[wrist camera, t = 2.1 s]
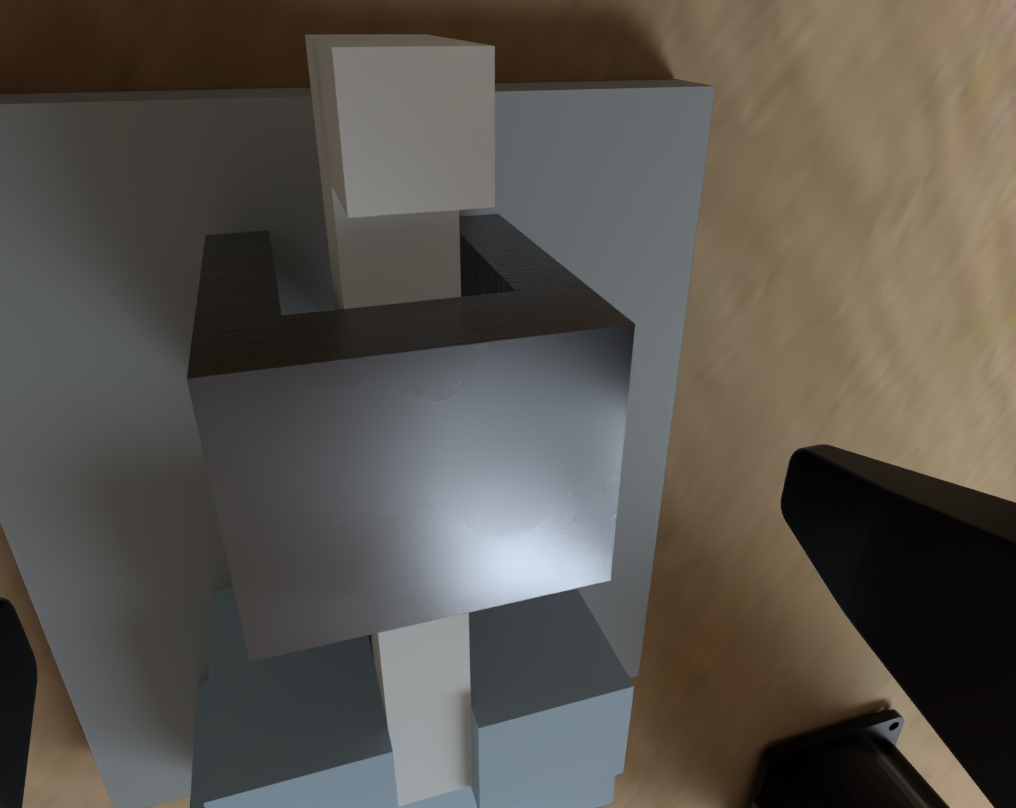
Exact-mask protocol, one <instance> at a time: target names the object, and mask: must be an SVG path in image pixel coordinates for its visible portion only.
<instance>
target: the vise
mask: <svg viewBox="0 0 1016 808" xmlns="http://www.w3.org/2000/svg"><path fill="white" fill-rule="evenodd" d="M305 40H306V49H307V58H308V67H309V76H310V85H311V87H304V88H259V89H214V90H169V91H123V92H78V93H33V94H0V523H1V526H2V528H3V531H4V533H5V536H6V538H7V541H8V543H9V546H10V548H11V551H12V553H13V556H14V558H15V561H16V563H17V566H18V568H19V571H20V573H21V576H22V578H23V581H24V583H25V586H26V588H27V591H28V593H29V596H30V598H31V601H32V603H33V606H34V609H35V611H36V614H37V616H38V619H39V621H40V624H41V626H42V629H43V631H44V634H45V636H46V639H47V641H48V644H49V646H50V649H51V651H52V654H53V656H54V659H55V661H56V664H57V666H58V669H59V671H60V674H61V676H62V679H63V681H64V684H65V686H66V689H67V691H68V694H69V696H70V699H71V701H72V704H73V706H74V709H75V711H76V714H77V716H78V719H79V722H80V724H81V727H82V729H83V732H84V734H85V737H86V739H87V742H88V744H89V747H90V749H91V752H92V754H93V757H94V759H95V762H96V764H97V767H98V769H99V772H100V774H101V777H102V779H103V782H104V784H105V787H106V789H107V792H108V794H109V797H110V799H111V802H112V804H113V807H114V808H146V807H150V806H153V805H157V804H161V803H165V802H168V801H172V800H176V799H180V798H183V797H187V796H191V798H190V808H597V807H601V806H604V805H607V804H610V803H613V794H614V786H615V778H616V775H618V774H621V773H623V771H624V763H625V755H626V748H627V740H628V732H629V724H630V716H631V708H632V701H633V693H634V685H633V683H632V681H631V680H630V678H632V677H636V676H639V669H640V661H641V654H642V646H643V638H644V631H645V623H646V615H647V608H648V600H649V592H650V585H651V577H652V569H653V562H654V554H655V546H656V539H657V531H658V523H659V516H660V508H661V500H662V493H663V485H664V477H665V470H666V462H667V454H668V447H669V439H670V431H671V424H672V416H673V408H674V401H675V393H676V385H677V377H678V370H679V362H680V354H681V347H682V339H683V331H684V324H685V316H686V308H687V301H688V293H689V285H690V278H691V270H692V262H693V255H694V247H695V239H696V232H697V224H698V216H699V209H700V201H701V193H702V186H703V178H704V170H705V163H706V155H707V147H708V140H709V132H710V124H711V117H712V109H713V101H714V94H715V86H712V85H706V84H700V83H695V82H689V81H683V80H678V79H666V80H621V81H576V82H530V83H495V46H492V45H486V44H480V43H474V42H468V41H463V40H457V39H451V38H445V37H439V36H433V35H427V34H355V35H305ZM487 214H499V215H501V216H502V217H503V218H504V219H506V220H507V221H508V222H509V223H510V224H512V225H513V226H514V227H515V228H517V229H518V230H519V231H520V232H522V233H523V234H524V235H525V236H527V237H528V238H529V239H530V240H532V241H533V242H534V243H535V244H537V245H538V246H539V247H540V248H542V249H543V250H544V251H545V252H546V253H548V254H549V255H550V256H551V257H553V258H554V259H555V260H556V261H558V262H559V263H560V264H561V265H563V266H564V267H565V268H566V269H568V270H569V271H570V272H571V273H573V274H574V275H575V276H576V277H578V278H579V279H580V280H581V281H582V282H584V283H585V284H586V285H587V286H589V287H590V288H591V289H592V290H594V291H595V292H596V293H597V294H599V295H600V296H601V297H602V298H604V299H605V300H606V301H607V302H609V303H610V304H611V305H612V306H614V307H615V308H616V309H617V310H619V311H620V312H621V313H622V314H623V315H625V316H626V317H627V318H628V319H630V320H631V321H632V322H633V323H635V331H634V342H633V352H632V362H631V373H630V383H629V394H628V404H627V414H626V425H625V435H624V446H623V456H622V466H621V477H620V487H619V498H618V508H617V518H616V529H615V539H614V550H613V560H612V570H611V581H606V582H602V583H597V584H593V585H589V586H584V587H580V588H575V589H571V590H566V591H562V592H558V593H553V594H549V595H544V596H540V597H535V598H531V599H526V600H522V601H518V602H513V603H509V604H504V605H500V606H495V607H491V608H487V609H482V610H478V611H473V612H469V613H464V614H460V615H456V616H451V617H447V618H442V619H438V620H433V621H429V622H425V623H420V624H416V625H411V626H407V627H402V628H398V629H394V630H389V631H385V632H380V633H376V634H371V635H367V636H363V637H358V638H354V639H349V640H345V641H340V642H336V643H331V644H327V645H323V646H318V647H314V648H309V649H305V650H300V651H296V652H292V653H287V654H283V655H278V656H274V657H269V658H265V659H261V660H256V661H252V662H250V661H249V656H248V652H247V647H246V643H245V638H244V634H243V629H242V625H241V620H240V616H239V611H238V607H237V603H236V598H235V594H234V589H233V585H232V580H231V576H230V571H229V567H228V562H227V558H226V553H225V549H224V544H223V540H222V535H221V531H220V526H219V522H218V517H217V513H216V508H215V504H214V499H213V495H212V490H211V486H210V481H209V477H208V472H207V468H206V463H205V459H204V454H203V450H202V446H201V441H200V437H199V432H198V428H197V423H196V419H195V414H194V410H193V405H192V401H191V396H190V392H189V387H188V383H187V372H188V365H189V357H190V349H191V342H192V334H193V326H194V318H195V311H196V303H197V295H198V288H199V280H200V272H201V265H202V257H203V249H204V242H205V235H212V234H226V233H240V232H253V231H267V230H269V233H270V239H271V246H272V253H273V260H274V266H275V273H276V280H277V287H278V293H279V300H280V307H281V314H282V315H290V314H300V313H310V312H319V311H329V310H339V309H348V308H358V307H368V306H377V305H387V304H396V303H406V302H416V301H425V300H435V299H445V298H454V297H461V271H460V230H459V216H473V215H487Z"/></svg>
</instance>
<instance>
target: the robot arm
mask: <svg viewBox="0 0 1016 808" xmlns="http://www.w3.org/2000/svg"><path fill="white" fill-rule="evenodd" d="M781 510H782V514H783V517H784V519H785V521H786V522H787V524H788V526H789V527H790V529H791V530H792V532H793V533H794V535H795V537H796V538H797V540H798V541H799V543H800V545H801V546H802V548H803V549H804V551H805V552H806V554H807V556H808V557H809V559H810V560H811V562H812V564H813V565H814V567H815V568H816V570H817V571H818V573H819V575H820V576H821V578H822V579H823V581H824V583H825V584H826V586H827V587H828V589H829V590H830V592H831V594H832V595H833V597H834V598H835V600H836V601H837V603H838V604H839V606H840V607H841V609H842V610H843V612H844V613H845V615H846V616H847V617H848V619H849V620H850V622H851V623H852V624H853V626H854V627H855V628H856V630H857V631H858V632H859V634H860V635H861V636H862V637H863V639H864V640H865V641H866V643H867V644H868V645H869V646H870V648H871V649H872V650H873V652H874V653H875V654H876V655H877V657H878V658H879V659H880V661H881V662H882V663H883V665H884V666H885V667H886V668H887V670H888V671H889V672H890V674H891V675H892V676H893V677H894V679H895V680H896V681H897V683H898V684H899V685H900V686H901V688H902V689H903V690H904V692H905V693H906V694H907V696H908V697H909V698H910V699H911V701H912V702H913V703H914V705H915V706H916V707H917V708H918V710H919V711H920V712H921V714H922V715H923V716H924V717H925V719H926V720H927V721H928V723H929V724H930V725H931V727H932V728H933V729H934V730H935V732H936V733H937V734H938V736H939V737H940V738H941V739H942V741H943V742H944V743H945V745H946V746H947V747H948V748H949V750H950V751H951V752H952V754H953V755H954V756H955V758H956V759H957V760H958V761H959V763H960V764H961V765H962V767H963V768H964V769H965V770H966V772H967V773H968V774H969V776H970V777H971V778H972V779H973V781H974V782H975V783H976V785H977V786H978V787H979V789H980V790H981V791H982V792H983V794H984V795H985V796H986V798H987V799H988V800H989V801H990V803H991V804H992V805H993V807H994V808H1016V503H1015V502H1012V501H1009V500H1005V499H1002V498H999V497H996V496H993V495H989V494H986V493H983V492H980V491H976V490H973V489H970V488H967V487H963V486H960V485H957V484H954V483H950V482H947V481H944V480H941V479H937V478H934V477H931V476H928V475H924V474H921V473H918V472H915V471H911V470H908V469H905V468H902V467H898V466H895V465H892V464H889V463H885V462H882V461H879V460H876V459H872V458H869V457H866V456H863V455H859V454H856V453H853V452H850V451H846V450H843V449H840V448H837V447H833V446H830V445H824V444H820V445H815V446H809V447H804V448H799V449H798V450H796V451H794V453H793V454H792V456H791V457H790V460H789V465H788V469H787V474H786V478H785V483H784V488H783V492H782V497H781ZM36 686H37V665H36V660H35V656H34V654H33V651H32V649H31V646H30V644H29V642H28V639H27V637H26V634H25V632H24V629H23V627H22V625H21V622H20V620H19V617H18V615H17V613H16V610H15V608H14V606H13V605H12V604H11V602H10V601H9V600H7V599H5V598H2V597H0V808H22V803H23V795H24V787H25V778H26V770H27V761H28V753H29V744H30V736H31V728H32V719H33V711H34V702H35V694H36ZM903 724H904V719H903V717H902V716H901V715H900V714H899V713H898V712H897V711H896V710H894V709H892V710H888V711H885V712H882V713H878V714H875V715H872V716H869V717H866V718H862V719H859V720H856V721H853V722H850V723H846V724H843V725H840V726H837V727H834V728H831V729H827V730H824V731H821V732H818V733H815V734H811V735H808V736H805V737H802V738H799V739H796V740H792V741H789V742H786V743H783V744H780V745H776V746H774V747H771V748H769V749H768V750H767V751H766V752H765V753H764V754H763V755H762V757H761V760H760V764H759V768H758V772H757V776H756V780H755V783H754V787H753V791H752V795H751V799H750V802H749V806H748V808H950V807H949V806H948V805H947V804H946V803H945V802H944V801H943V799H942V798H941V797H940V796H939V795H938V794H937V793H936V792H935V790H934V789H933V788H932V787H931V786H930V785H929V784H928V783H927V781H926V780H925V779H924V778H923V777H922V776H921V775H920V774H919V772H918V771H917V770H916V769H915V768H914V767H913V766H912V764H911V763H910V762H909V761H908V760H907V759H906V758H905V757H904V755H903V754H902V753H901V752H900V751H899V750H898V749H897V748H896V746H895V745H896V742H897V739H898V737H899V734H900V732H901V729H902V727H903Z"/></svg>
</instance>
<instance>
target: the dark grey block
mask: <svg viewBox="0 0 1016 808" xmlns="http://www.w3.org/2000/svg"><path fill="white" fill-rule="evenodd" d="M459 230H460V271H461V297H454V298H445V299H435V300H425V301H416V302H406V303H396V304H387V305H377V306H368V307H358V308H348V309H339V310H329V311H319V312H310V313H300V314H290V315H282V314H281V307H280V300H279V293H278V287H277V280H276V273H275V266H274V260H273V253H272V246H271V239H270V233H269V230H267V231H253V232H240V233H226V234H212V235H205V242H204V249H203V257H202V265H201V272H200V280H199V288H198V295H197V303H196V311H195V318H194V326H193V334H192V342H191V349H190V357H189V365H188V372H187V383H188V387H189V392H190V396H191V401H192V405H193V410H194V414H195V419H196V423H197V428H198V432H199V437H200V441H201V446H202V450H203V454H204V459H205V463H206V468H207V472H208V477H209V481H210V486H211V490H212V495H213V499H214V504H215V508H216V513H217V517H218V522H219V526H220V531H221V535H222V540H223V544H224V549H225V553H226V558H227V562H228V567H229V571H230V576H231V580H232V585H233V589H234V594H235V598H236V603H237V607H238V611H239V616H240V620H241V625H242V629H243V634H244V638H245V643H246V647H247V652H248V656H249V661H250V662H252V661H256V660H261V659H265V658H269V657H274V656H278V655H283V654H287V653H292V652H296V651H300V650H305V649H309V648H314V647H318V646H323V645H327V644H331V643H336V642H340V641H345V640H349V639H354V638H358V637H363V636H367V635H371V634H376V633H380V632H385V631H389V630H394V629H398V628H402V627H407V626H411V625H416V624H420V623H425V622H429V621H433V620H438V619H442V618H447V617H451V616H456V615H460V614H464V613H469V612H473V611H478V610H482V609H487V608H491V607H495V606H500V605H504V604H509V603H513V602H518V601H522V600H526V599H531V598H535V597H540V596H544V595H549V594H553V593H558V592H562V591H566V590H571V589H575V588H580V587H584V586H589V585H593V584H597V583H602V582H606V581H611V570H612V560H613V550H614V539H615V529H616V518H617V508H618V498H619V487H620V477H621V466H622V456H623V446H624V435H625V425H626V414H627V404H628V394H629V383H630V373H631V362H632V352H633V342H634V331H635V323H633V322H632V321H631V320H630V319H628V318H627V317H626V316H625V315H623V314H622V313H621V312H620V311H619V310H617V309H616V308H615V307H614V306H612V305H611V304H610V303H609V302H607V301H606V300H605V299H604V298H602V297H601V296H600V295H599V294H597V293H596V292H595V291H594V290H592V289H591V288H590V287H589V286H587V285H586V284H585V283H584V282H582V281H581V280H580V279H579V278H578V277H576V276H575V275H574V274H573V273H571V272H570V271H569V270H568V269H566V268H565V267H564V266H563V265H561V264H560V263H559V262H558V261H556V260H555V259H554V258H553V257H551V256H550V255H549V254H548V253H546V252H545V251H544V250H543V249H542V248H540V247H539V246H538V245H537V244H535V243H534V242H533V241H532V240H530V239H529V238H528V237H527V236H525V235H524V234H523V233H522V232H520V231H519V230H518V229H517V228H515V227H514V226H513V225H512V224H510V223H509V222H508V221H507V220H506V219H504V218H503V217H502V216H501V215H499V214H487V215H473V216H459Z"/></svg>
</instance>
